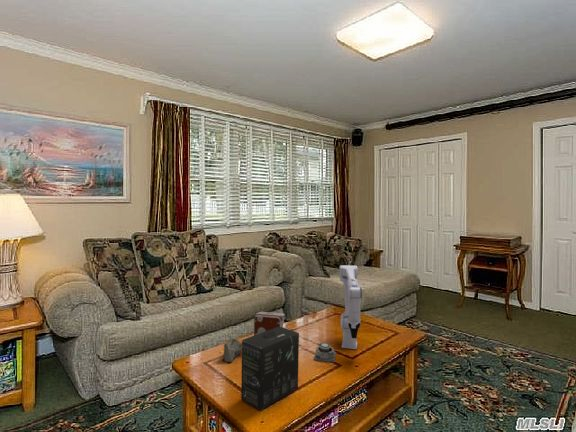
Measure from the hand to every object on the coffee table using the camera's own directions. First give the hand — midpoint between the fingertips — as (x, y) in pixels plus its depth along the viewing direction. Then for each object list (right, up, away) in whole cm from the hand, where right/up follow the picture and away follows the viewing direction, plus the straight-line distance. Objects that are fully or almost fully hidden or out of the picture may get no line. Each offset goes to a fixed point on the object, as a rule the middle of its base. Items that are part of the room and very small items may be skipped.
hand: (354, 337), depth 175 cm
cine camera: (-41, -10, +7) cm, 43 cm away
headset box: (-40, -12, -32) cm, 53 cm away
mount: (-14, -10, +1) cm, 18 cm away
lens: (-15, -9, +1) cm, 17 cm away
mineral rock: (-60, -10, 0) cm, 61 cm away
